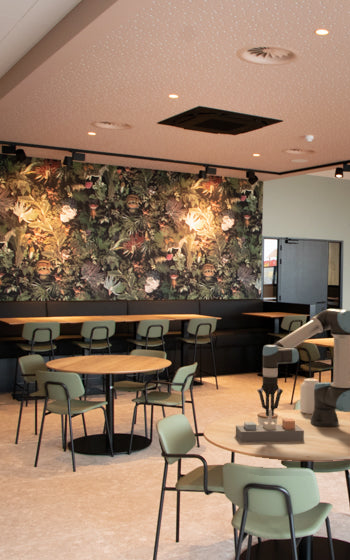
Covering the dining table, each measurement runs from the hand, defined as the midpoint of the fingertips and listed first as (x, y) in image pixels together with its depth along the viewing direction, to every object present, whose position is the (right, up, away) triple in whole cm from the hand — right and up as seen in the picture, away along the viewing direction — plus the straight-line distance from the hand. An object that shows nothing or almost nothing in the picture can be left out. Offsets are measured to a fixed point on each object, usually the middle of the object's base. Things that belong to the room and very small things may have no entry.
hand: (269, 422), depth 296 cm
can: (+34, -8, +58) cm, 68 cm away
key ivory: (0, -5, 0) cm, 5 cm away
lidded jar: (+2, -8, +18) cm, 20 cm away
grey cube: (-10, -5, -1) cm, 11 cm away
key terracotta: (+10, -4, +1) cm, 11 cm away
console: (0, -8, 0) cm, 8 cm away
